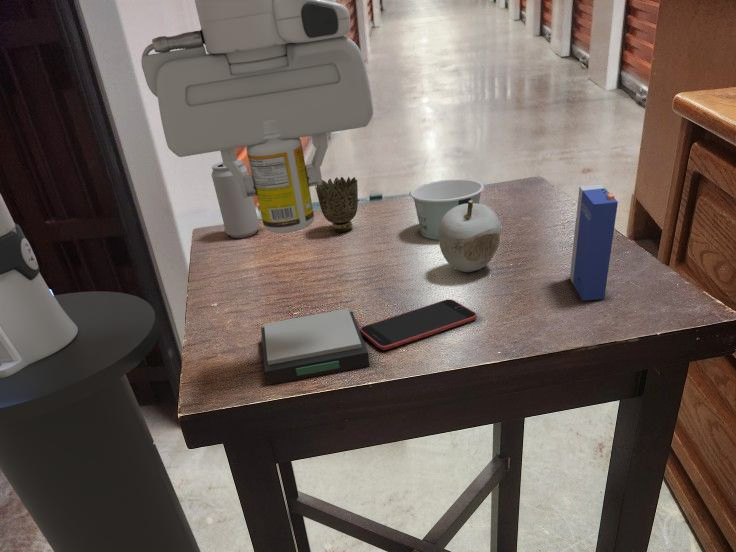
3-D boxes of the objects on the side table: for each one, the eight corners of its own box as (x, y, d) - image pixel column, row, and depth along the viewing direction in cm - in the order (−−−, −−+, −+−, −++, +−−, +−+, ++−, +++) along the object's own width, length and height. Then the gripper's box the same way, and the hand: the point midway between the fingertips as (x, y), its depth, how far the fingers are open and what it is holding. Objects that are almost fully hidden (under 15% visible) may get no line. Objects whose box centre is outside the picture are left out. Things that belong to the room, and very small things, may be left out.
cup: (361, 234, 108) (355, 185, 102) (320, 238, 109) (312, 190, 103) (364, 221, 113) (358, 174, 108) (325, 225, 114) (318, 178, 109)
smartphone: (480, 314, 77) (382, 348, 73) (480, 319, 77) (382, 352, 73) (450, 297, 82) (356, 327, 78) (450, 301, 82) (357, 331, 78)
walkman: (604, 299, 78) (618, 198, 70) (582, 301, 78) (593, 200, 70) (590, 276, 84) (602, 180, 76) (569, 277, 84) (579, 182, 76)
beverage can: (232, 229, 119) (215, 160, 111) (264, 226, 118) (249, 157, 110) (223, 240, 114) (204, 169, 106) (256, 237, 113) (239, 166, 105)
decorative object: (471, 255, 94) (471, 185, 88) (512, 268, 89) (515, 194, 82) (427, 272, 91) (423, 200, 85) (466, 287, 85) (465, 212, 79)
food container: (401, 229, 107) (398, 189, 103) (461, 214, 110) (461, 174, 106) (432, 248, 99) (430, 204, 94) (497, 231, 101) (498, 188, 97)
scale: (268, 385, 70) (263, 367, 69) (264, 340, 80) (259, 323, 78) (369, 366, 71) (367, 348, 70) (354, 324, 80) (351, 306, 79)
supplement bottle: (299, 214, 69) (279, 108, 62) (324, 223, 65) (307, 112, 58) (255, 228, 67) (230, 120, 60) (279, 238, 63) (255, 124, 56)
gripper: (129, 42, 52) (181, 215, 60) (366, 6, 53) (382, 180, 62) (138, 38, 56) (185, 199, 65) (355, 5, 58) (372, 167, 67)
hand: (283, 190), depth 64 cm, fingers closed on supplement bottle, 5 cm apart
